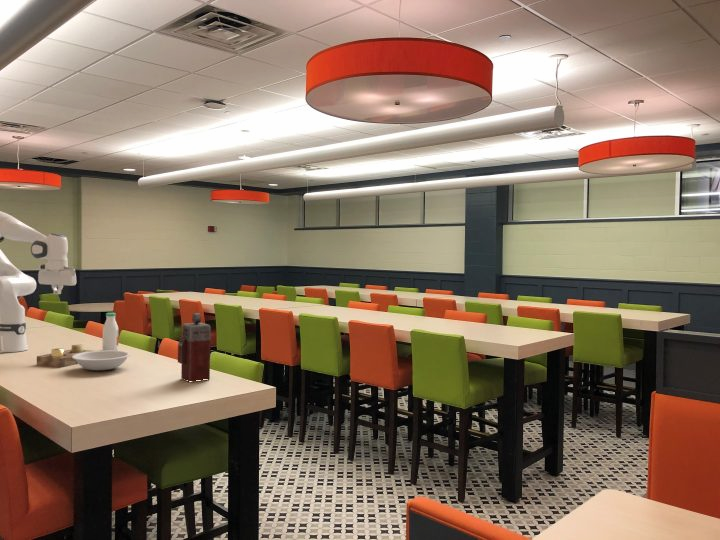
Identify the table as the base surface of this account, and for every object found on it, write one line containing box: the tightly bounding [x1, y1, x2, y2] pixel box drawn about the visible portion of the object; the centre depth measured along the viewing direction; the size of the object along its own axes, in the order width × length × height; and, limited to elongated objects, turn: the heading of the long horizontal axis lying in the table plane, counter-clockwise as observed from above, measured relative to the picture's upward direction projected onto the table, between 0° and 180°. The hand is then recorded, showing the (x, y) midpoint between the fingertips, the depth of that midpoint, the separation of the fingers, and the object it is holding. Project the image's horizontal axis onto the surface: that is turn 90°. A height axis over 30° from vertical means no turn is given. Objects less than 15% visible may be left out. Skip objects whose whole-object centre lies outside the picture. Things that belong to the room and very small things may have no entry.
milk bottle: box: [101, 312, 119, 351], centre depth 300 cm, size 8×8×20 cm
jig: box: [36, 344, 93, 368], centre depth 266 cm, size 14×22×7 cm, turn 165°
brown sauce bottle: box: [177, 312, 212, 381], centre depth 236 cm, size 9×11×28 cm
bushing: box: [50, 347, 65, 357], centre depth 261 cm, size 5×5×7 cm
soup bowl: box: [72, 350, 132, 371], centre depth 252 cm, size 24×24×7 cm
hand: (57, 294), depth 280 cm, fingers closed
